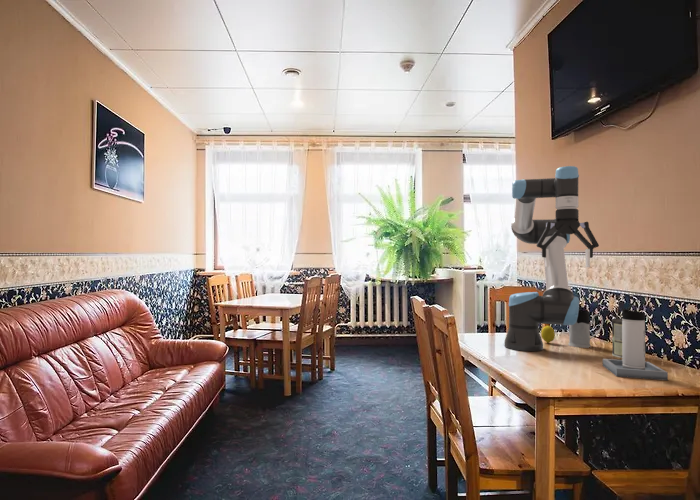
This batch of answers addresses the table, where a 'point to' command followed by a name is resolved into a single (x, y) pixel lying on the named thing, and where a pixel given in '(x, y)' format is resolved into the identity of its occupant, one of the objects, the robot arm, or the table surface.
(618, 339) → the coffee can
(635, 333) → the travel mug
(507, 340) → the robot arm
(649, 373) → the tray
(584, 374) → the table surface
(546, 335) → the lemon
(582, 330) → the lidded pitcher
